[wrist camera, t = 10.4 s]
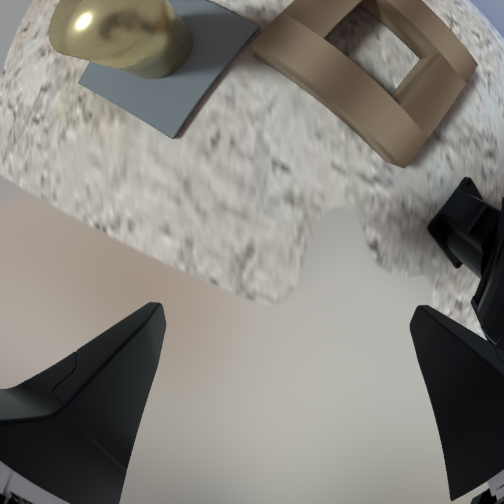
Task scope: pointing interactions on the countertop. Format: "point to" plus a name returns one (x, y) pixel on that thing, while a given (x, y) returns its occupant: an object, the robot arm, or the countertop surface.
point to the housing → (359, 82)
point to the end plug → (123, 35)
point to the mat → (185, 78)
